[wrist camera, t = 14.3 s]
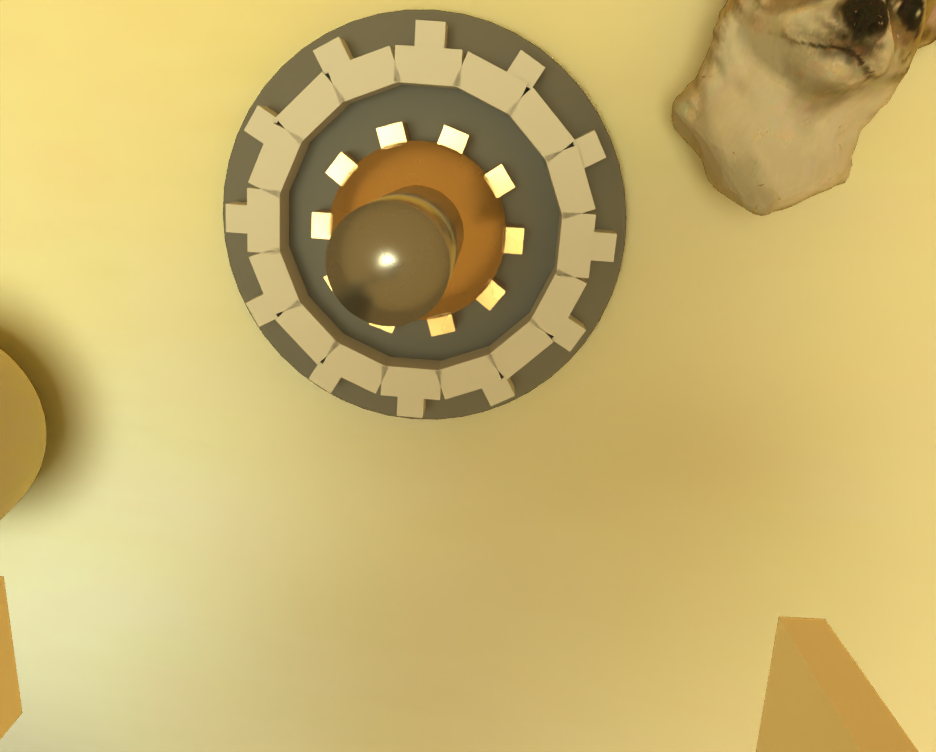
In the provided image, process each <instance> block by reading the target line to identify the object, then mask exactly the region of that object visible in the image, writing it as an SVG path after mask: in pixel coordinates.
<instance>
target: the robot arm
mask: <svg viewBox="0 0 936 752" xmlns="http://www.w3.org/2000/svg"><path fill="white" fill-rule="evenodd" d="M21 714H22V707H21V699H20V692H19V685H18V677H17V670H16V663H15V656H14V648H13V641H12V634H11V626H10V619H9V612H8V604H7V597H6V590H5V582H4V576H0V739H1V738H2V737H3V735H4V734H5V733H6V732H7V731H8V729H9V728H10V727H11V726H12V725H13V723H14V722H15V721H16V720H17V719H18V717H19V716H20V715H21ZM756 752H918V750H917V749H916V747H915V746H914V745H913V743H912V742H911V740H910V739H909V737H908V736H907V735H906V733H905V732H904V730H903V729H902V728H901V726H900V725H899V723H898V722H897V720H896V719H895V718H894V716H893V715H892V713H891V712H890V711H889V709H888V708H887V706H886V705H885V703H884V702H883V701H882V699H881V698H880V696H879V695H878V694H877V692H876V691H875V689H874V688H873V686H872V685H871V684H870V682H869V681H868V679H867V678H866V677H865V675H864V674H863V672H862V671H861V669H860V668H859V667H858V665H857V664H856V662H855V661H854V660H853V658H852V657H851V655H850V654H849V652H848V651H847V650H846V648H845V647H844V645H843V644H842V643H841V641H840V640H839V638H838V637H837V635H836V634H835V633H834V631H833V630H832V628H831V627H830V626H829V624H828V623H827V621H826V620H825V619H814V618H795V617H779V619H778V625H777V631H776V636H775V642H774V648H773V654H772V660H771V666H770V672H769V677H768V683H767V689H766V695H765V701H764V707H763V713H762V719H761V724H760V730H759V736H758V742H757V748H756Z"/></svg>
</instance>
